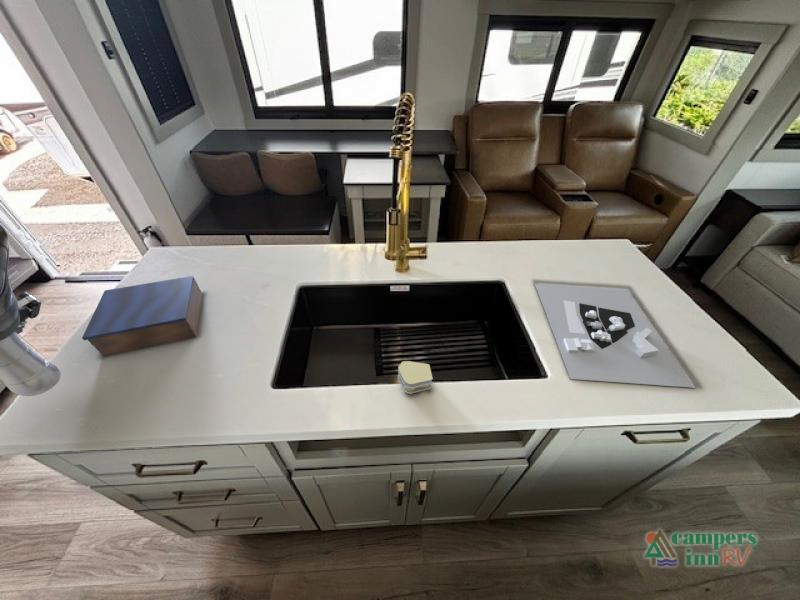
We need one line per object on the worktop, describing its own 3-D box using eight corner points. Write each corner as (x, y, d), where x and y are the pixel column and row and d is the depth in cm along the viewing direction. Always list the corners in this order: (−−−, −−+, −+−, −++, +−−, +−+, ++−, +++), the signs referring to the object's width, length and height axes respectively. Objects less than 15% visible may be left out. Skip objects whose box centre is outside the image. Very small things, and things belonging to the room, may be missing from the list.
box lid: (84, 340, 72) (81, 338, 71) (106, 292, 83) (104, 290, 83) (186, 320, 77) (185, 317, 76) (194, 278, 89) (193, 275, 88)
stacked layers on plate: (431, 367, 77) (433, 353, 74) (439, 401, 71) (442, 387, 67) (389, 371, 76) (389, 356, 73) (393, 405, 70) (394, 392, 66)
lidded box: (105, 358, 77) (87, 339, 72) (124, 311, 88) (109, 292, 83) (198, 339, 82) (186, 320, 77) (204, 296, 93) (194, 278, 89)
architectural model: (534, 284, 102) (536, 278, 100) (627, 290, 101) (630, 284, 99) (569, 379, 76) (573, 374, 74) (694, 388, 75) (701, 383, 74)
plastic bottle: (27, 378, 62) (-72, 301, 49) (71, 366, 64) (-13, 290, 51) (15, 406, 58) (-98, 331, 44) (62, 392, 60) (-32, 317, 47)
